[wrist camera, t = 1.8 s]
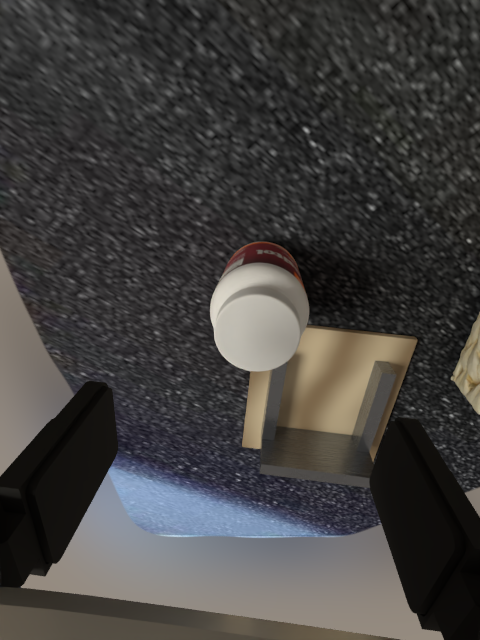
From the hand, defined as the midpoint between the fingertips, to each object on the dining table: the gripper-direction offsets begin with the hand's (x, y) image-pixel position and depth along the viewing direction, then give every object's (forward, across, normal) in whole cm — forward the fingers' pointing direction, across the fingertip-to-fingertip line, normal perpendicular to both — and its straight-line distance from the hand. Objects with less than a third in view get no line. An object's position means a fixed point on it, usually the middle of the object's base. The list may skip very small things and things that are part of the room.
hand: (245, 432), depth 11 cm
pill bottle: (+18, 0, 0) cm, 18 cm away
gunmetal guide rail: (+18, -7, +11) cm, 22 cm away
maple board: (+18, -7, +11) cm, 22 cm away
